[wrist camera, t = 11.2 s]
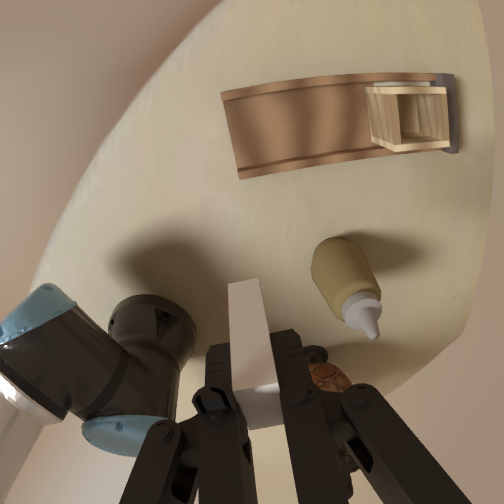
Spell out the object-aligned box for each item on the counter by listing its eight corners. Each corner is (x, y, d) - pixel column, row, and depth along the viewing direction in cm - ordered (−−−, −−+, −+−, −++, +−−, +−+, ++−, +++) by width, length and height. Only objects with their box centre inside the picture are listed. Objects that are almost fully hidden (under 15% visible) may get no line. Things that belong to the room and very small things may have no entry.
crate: (371, 141, 38) (395, 152, 32) (364, 86, 34) (389, 87, 28) (421, 136, 38) (449, 146, 31) (416, 85, 34) (445, 87, 28)
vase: (291, 383, 61) (315, 520, 34) (270, 346, 55) (292, 508, 28) (346, 364, 59) (390, 498, 33) (332, 323, 53) (387, 480, 27)
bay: (239, 174, 40) (239, 185, 36) (221, 92, 35) (219, 91, 31) (439, 145, 39) (458, 153, 35) (433, 73, 34) (453, 74, 30)
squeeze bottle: (334, 219, 44) (385, 292, 28) (366, 252, 47) (419, 328, 31) (294, 257, 47) (323, 343, 31) (328, 286, 50) (364, 371, 34)
